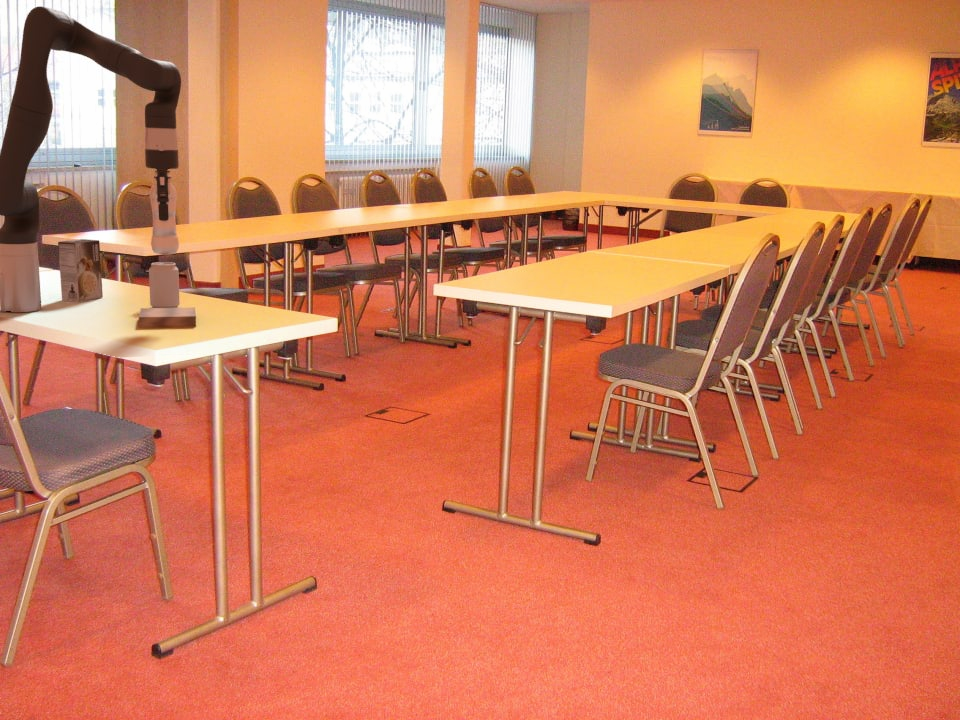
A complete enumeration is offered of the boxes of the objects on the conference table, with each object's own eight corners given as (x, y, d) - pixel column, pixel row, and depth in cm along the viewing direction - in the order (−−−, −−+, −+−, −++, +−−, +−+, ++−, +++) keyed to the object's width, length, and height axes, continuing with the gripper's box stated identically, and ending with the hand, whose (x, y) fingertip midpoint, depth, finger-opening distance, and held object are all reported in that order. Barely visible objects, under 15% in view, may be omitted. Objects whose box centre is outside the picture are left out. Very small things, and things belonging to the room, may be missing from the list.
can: (171, 310, 261) (169, 265, 259) (144, 309, 263) (143, 263, 260) (184, 306, 268) (183, 262, 266) (159, 304, 270) (157, 260, 267)
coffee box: (85, 295, 280) (82, 238, 277) (103, 297, 278) (100, 240, 275) (60, 300, 272) (57, 241, 269) (79, 302, 270) (75, 242, 266)
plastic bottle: (153, 256, 237) (149, 171, 233) (150, 253, 243) (146, 170, 239) (181, 256, 240) (178, 171, 236) (177, 253, 246) (174, 170, 242)
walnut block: (139, 327, 237) (138, 317, 237) (141, 318, 249) (140, 308, 249) (196, 326, 241) (195, 316, 240) (195, 317, 253) (195, 307, 253)
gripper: (145, 147, 242) (148, 216, 246) (143, 148, 229) (146, 221, 232) (178, 148, 244) (180, 217, 248) (178, 149, 231) (180, 221, 234)
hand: (164, 218), depth 240 cm, fingers closed on plastic bottle, 6 cm apart
